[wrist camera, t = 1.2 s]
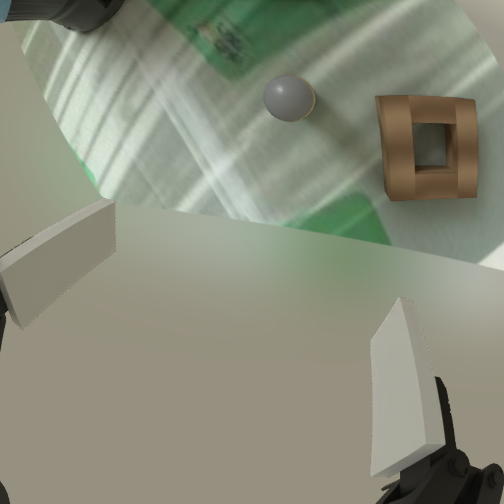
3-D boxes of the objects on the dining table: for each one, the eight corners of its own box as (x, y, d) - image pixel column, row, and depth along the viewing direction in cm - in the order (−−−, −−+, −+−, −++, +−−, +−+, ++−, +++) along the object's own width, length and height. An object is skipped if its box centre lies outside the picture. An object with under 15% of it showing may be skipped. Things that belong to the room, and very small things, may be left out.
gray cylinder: (283, 86, 31) (257, 78, 18) (313, 82, 30) (309, 70, 17) (289, 114, 33) (268, 126, 20) (318, 110, 32) (319, 119, 18)
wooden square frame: (375, 95, 29) (381, 95, 26) (461, 98, 25) (475, 99, 22) (384, 190, 35) (391, 201, 32) (464, 187, 31) (476, 197, 28)
